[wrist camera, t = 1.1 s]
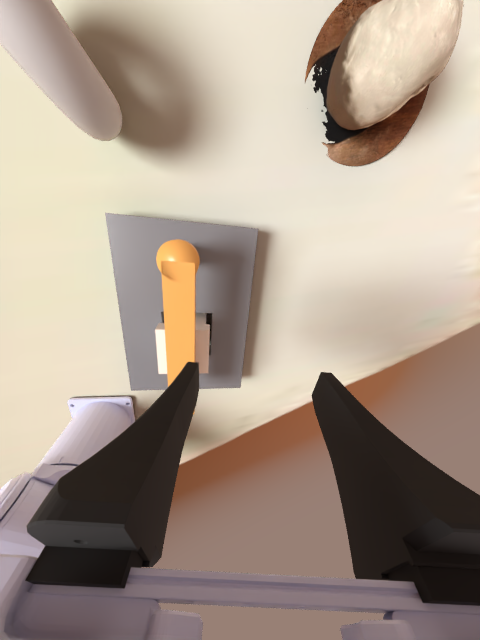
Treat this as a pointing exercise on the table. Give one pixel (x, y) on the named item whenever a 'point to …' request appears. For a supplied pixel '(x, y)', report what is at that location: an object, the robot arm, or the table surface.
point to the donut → (59, 65)
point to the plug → (201, 345)
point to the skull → (379, 70)
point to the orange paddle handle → (179, 302)
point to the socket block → (211, 293)
